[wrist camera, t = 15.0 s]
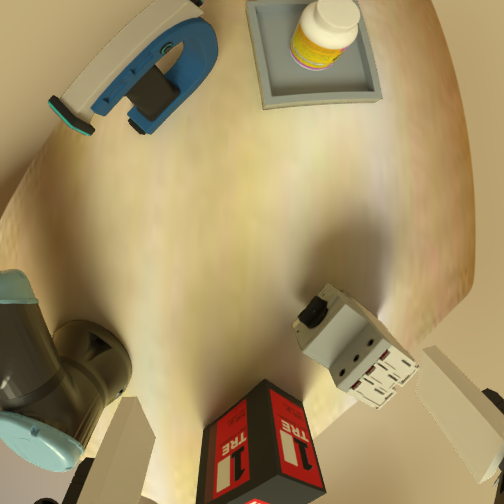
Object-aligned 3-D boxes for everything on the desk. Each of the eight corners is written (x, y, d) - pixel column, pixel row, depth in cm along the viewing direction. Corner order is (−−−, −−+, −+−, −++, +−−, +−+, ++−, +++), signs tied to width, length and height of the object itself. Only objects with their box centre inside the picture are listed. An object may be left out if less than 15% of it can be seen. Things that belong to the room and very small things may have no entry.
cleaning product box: (264, 378, 49) (277, 474, 29) (302, 402, 50) (326, 492, 31) (203, 430, 51) (194, 518, 32) (240, 449, 53) (242, 534, 34)
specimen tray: (263, 109, 39) (265, 105, 36) (245, 11, 35) (246, 1, 32) (374, 102, 39) (382, 98, 36) (351, 9, 35) (357, 0, 33)
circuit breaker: (312, 266, 45) (345, 309, 30) (377, 317, 47) (421, 368, 33) (279, 306, 46) (296, 363, 31) (346, 352, 48) (379, 411, 34)
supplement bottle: (327, 79, 38) (360, 46, 25) (281, 60, 37) (298, 19, 24) (341, 42, 36) (375, 3, 24) (297, 24, 36) (317, -23, 23)
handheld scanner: (117, 129, 39) (40, 106, 20) (199, 46, 37) (178, -30, 18) (138, 149, 40) (70, 138, 21) (222, 66, 38) (215, -5, 19)
